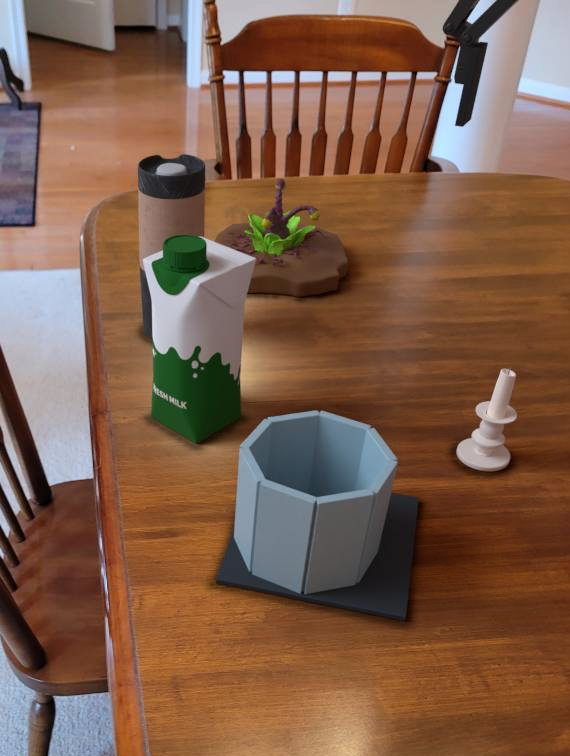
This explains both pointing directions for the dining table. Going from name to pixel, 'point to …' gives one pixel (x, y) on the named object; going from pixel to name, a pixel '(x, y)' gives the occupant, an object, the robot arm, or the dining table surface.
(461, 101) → the robot arm
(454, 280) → the dining table surface
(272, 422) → the pail
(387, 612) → the mat
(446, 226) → the dining table surface
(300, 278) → the plant
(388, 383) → the dining table surface
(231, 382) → the milk carton
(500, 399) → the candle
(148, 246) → the travel mug
